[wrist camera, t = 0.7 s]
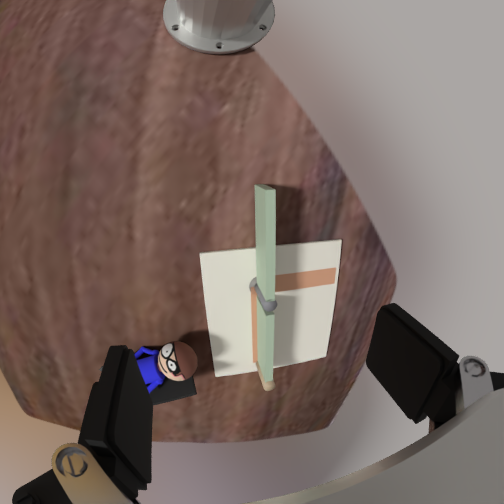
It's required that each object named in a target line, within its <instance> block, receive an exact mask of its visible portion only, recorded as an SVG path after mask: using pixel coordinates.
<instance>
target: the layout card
mask: <svg viewBox="0 0 504 504" xmlns="http://www.w3.org/2000/svg"><path fill="white" fill-rule="evenodd" d="M341 243H342V240H341V239H337V240H326V241H316V242H305V243H294V244H283V245H276V251H275V300H276V301H277V307H276V309H275V310H273V313H274V314H275V317H274V354H273V368H276V367H281V366H286V365H291V364H296V363H300V362H305V361H309V360H314V359H318V358H322V357H326V353H327V348H328V342H329V336H330V331H331V324H332V318H333V311H334V304H335V297H336V289H337V281H338V273H339V264H340V254H341ZM200 261H201V271H202V280H203V289H204V298H205V306H206V314H207V321H208V329H209V336H210V343H211V350H212V357H213V363H214V370H215V376H216V377H218V376H226V375H234V374H241V373H247V372H253V371H258V370H257V367H256V362H257V361H258V356H257V297H256V295H257V293H256V291H255V289H254V286H255V284H256V283H257V274H256V247H252V248H241V249H231V250H220V251H210V252H200Z"/></svg>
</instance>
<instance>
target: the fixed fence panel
mask: <svg viewBox="0 0 504 504" xmlns="http://www.w3.org/2000/svg"><path fill="white" fill-rule="evenodd" d="M256 297H257V356H258V361H257V362H256V367H257V370H258V373H259V375H260V378H261V381H262V384H263V387H264V390H266V391H270V390H272V389H274V388H275V383H274V381H273V354H274V317H275V314H274V313H273V311H270V312H268V311H265V310H264V308H263V306H262V304H261V302H260V300H259V297H258V295H256Z"/></svg>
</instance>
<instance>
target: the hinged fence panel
mask: <svg viewBox="0 0 504 504" xmlns="http://www.w3.org/2000/svg"><path fill="white" fill-rule="evenodd" d="M255 223H256V274H257V283H256V284H255V286H254V289H255V291H256V293H257V295H258V297H259V300H260V302H261V304H262V306H263V308H264V310H265V311H268V312H270V311H273V310H275V309H276V307H277V301H276V300H275V251H276V190H275V189H273V188H271V187H269V186H267V185H264V184H255Z"/></svg>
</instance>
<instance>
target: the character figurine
mask: <svg viewBox="0 0 504 504" xmlns="http://www.w3.org/2000/svg"><path fill="white" fill-rule="evenodd" d="M144 352H145V353H147V354H150V355H152V356H150V357H146V358H143V359H139V360H137V359H138V358H139V357H140V356H141V355H142V354H143V353H144ZM134 355H135V358H136V361H137V363H138V366H139V369H140V371H141V374H142V377H143V379H144V382H145V384H146V387H147V389H148V392H149V394H150V396H151V399H152V403H153V405H157V404H161V403H165V402H170V401H174V400H177V399H181V398H185V397H189V396H192V395H196V394H197V392H196V388H195V384H194V379H193V374H194V373H195V371H196V369H197V363H198V362H197V356H196V354H195V352H194V350H193V349H192V348H191V347H190V346H189V345H187V344H186V343H183V342H179V341H174V342H170V343H168V344H166V345H165V346H164V347H163V348H162V349H161V350H160V352H159V351H158V350H153V351H152V350H150V349H147V348H145V347H141V349H139V350H138V351H137V352H136V353H135V354H134ZM102 369H103V366H102V367H101V368H100V371H102Z"/></svg>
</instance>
